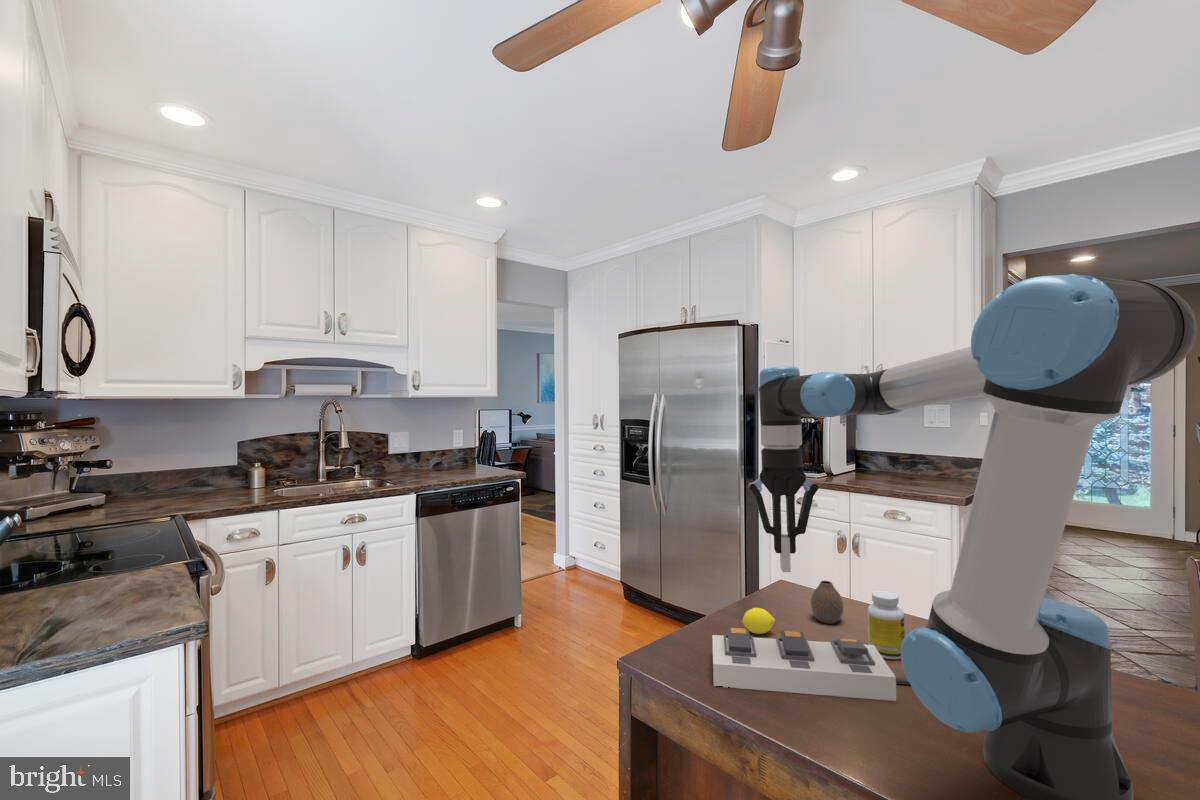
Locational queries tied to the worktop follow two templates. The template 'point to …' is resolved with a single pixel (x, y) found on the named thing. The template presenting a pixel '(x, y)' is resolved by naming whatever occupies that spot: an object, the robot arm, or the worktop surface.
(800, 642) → the dark grey flat block
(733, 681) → the rocker switch box
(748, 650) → the rocker
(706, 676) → the worktop surface
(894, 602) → the pill bottle
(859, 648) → the rocker
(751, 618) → the lemon
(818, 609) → the vase
